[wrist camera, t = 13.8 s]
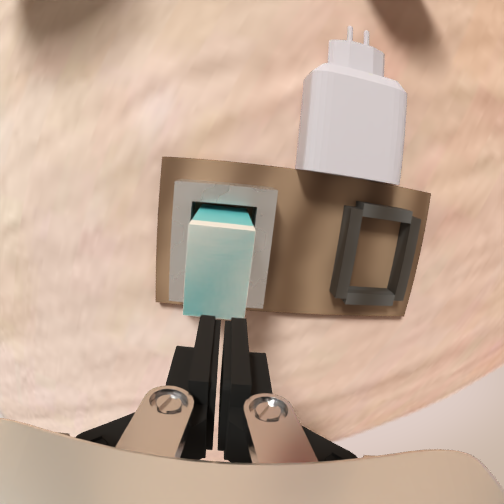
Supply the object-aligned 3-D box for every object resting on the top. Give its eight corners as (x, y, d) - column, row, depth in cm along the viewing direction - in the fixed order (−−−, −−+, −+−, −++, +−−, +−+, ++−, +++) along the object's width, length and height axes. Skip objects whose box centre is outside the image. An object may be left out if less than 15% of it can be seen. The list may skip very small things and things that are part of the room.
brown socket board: (425, 192, 31) (441, 195, 28) (400, 312, 35) (411, 324, 32) (164, 156, 28) (157, 156, 26) (157, 297, 32) (151, 310, 29)
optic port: (272, 187, 29) (278, 190, 26) (259, 293, 32) (262, 308, 28) (181, 178, 28) (174, 180, 25) (174, 286, 31) (168, 300, 27)
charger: (389, 48, 27) (380, 182, 31) (306, 27, 26) (293, 169, 30) (411, 35, 22) (403, 186, 26) (318, 7, 21) (304, 170, 25)
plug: (246, 208, 29) (255, 231, 20) (239, 271, 31) (244, 320, 21) (202, 203, 29) (188, 223, 19) (196, 267, 30) (182, 314, 21)
